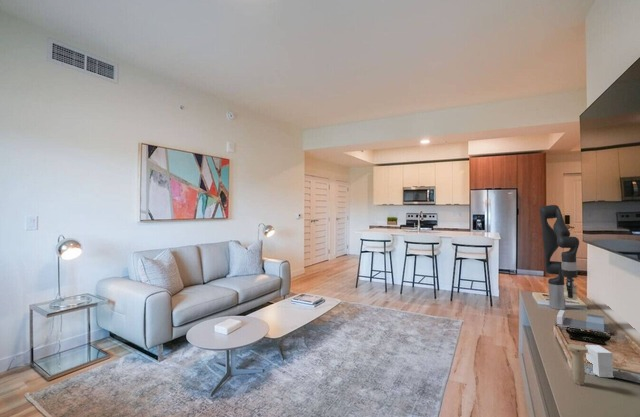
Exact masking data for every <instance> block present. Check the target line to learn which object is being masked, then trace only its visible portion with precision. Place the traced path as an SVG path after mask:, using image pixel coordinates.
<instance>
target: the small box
mask: <svg viewBox="0 0 640 417" xmlns="http://www.w3.org/2000/svg"><path fill="white" fill-rule="evenodd" d="M585 347H586V348H587V349H588V352H587V353H585V356H586V357H585V358H586V359H587V360H588V361H589V362H590V363H592V364H593V372H592V373H593V374H594V375H596V376H598V377H599V378H614V377H615V375H614V376H613V375H612V371H614V359H613V358H614V357H613V352H611V351H610V350H607V349H606V348H605V347H603V346H601V345H598V344H585Z"/></svg>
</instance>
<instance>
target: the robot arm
mask: <svg viewBox="0 0 640 417" xmlns="http://www.w3.org/2000/svg"><path fill="white" fill-rule="evenodd" d="M539 217H540V222H541V223H540V224H541V229H542V230H541V233H542V244H543V249H544V250H543V252H544V269H545V272H546V274H550V275H557V276H555V277H551V278H548V280H547V283H548V284H547V286H548V303H549V308H551V309H555V310H566V308H567V306H566V299H564V285H566V287H567V291H568V298H573V294H572V292H573V289H572V288H573V287H574V286H575V279H576V278H578V264H577V253H578V250H579V246H580V240H579V238H578V237H576V236H571V232H570V230H569V229H568V227H567V225H566V223H565V220H564V217H563V214H562V211H561V209H560V207H559V206H558V205H556V204H550V205H542V206H540V207H539ZM550 219H551V220H552V219H556V220H555V221H554V224H553V227H551V225H550V224H549V223H548V220H550ZM558 248H562V249H569V250H567V251H563V252H561V254H560V255H561V256H560V257H561V261H554V260H551V258H552V257H553V255H554V253H555V252H556V251H557V250H558ZM574 278H575V279H574ZM568 288H571V289H568Z"/></svg>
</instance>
